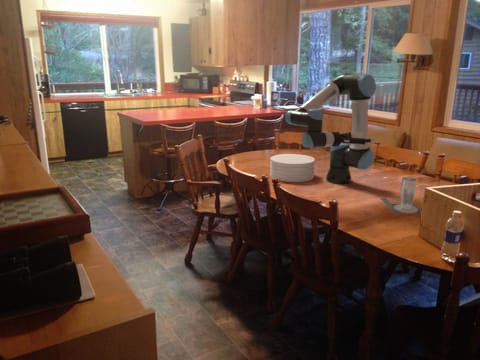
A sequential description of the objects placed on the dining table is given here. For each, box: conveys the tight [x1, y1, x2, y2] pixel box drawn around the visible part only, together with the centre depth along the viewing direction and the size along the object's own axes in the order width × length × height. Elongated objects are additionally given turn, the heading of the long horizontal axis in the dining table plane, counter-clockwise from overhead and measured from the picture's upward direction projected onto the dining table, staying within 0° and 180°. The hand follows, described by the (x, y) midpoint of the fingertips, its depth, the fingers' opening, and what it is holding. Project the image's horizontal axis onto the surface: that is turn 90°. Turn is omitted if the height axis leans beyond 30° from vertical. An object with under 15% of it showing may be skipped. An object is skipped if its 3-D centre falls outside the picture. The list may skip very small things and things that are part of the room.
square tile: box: [384, 196, 401, 205], centre depth 216 cm, size 10×10×1 cm
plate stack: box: [269, 153, 316, 183], centre depth 266 cm, size 28×28×12 cm
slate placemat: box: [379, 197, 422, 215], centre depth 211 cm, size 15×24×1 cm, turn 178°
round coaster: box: [394, 204, 418, 215], centre depth 205 cm, size 11×11×1 cm
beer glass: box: [400, 176, 418, 210], centre depth 203 cm, size 7×7×15 cm
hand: (368, 137), depth 220 cm, fingers open, 13 cm apart
